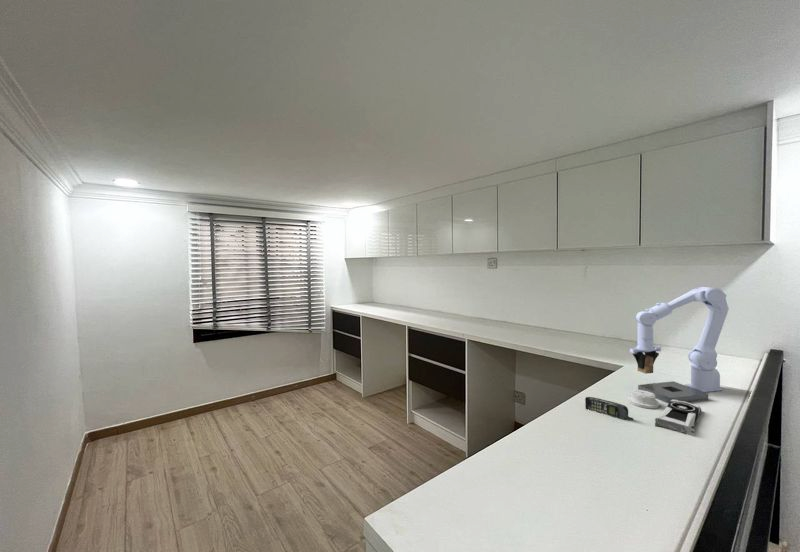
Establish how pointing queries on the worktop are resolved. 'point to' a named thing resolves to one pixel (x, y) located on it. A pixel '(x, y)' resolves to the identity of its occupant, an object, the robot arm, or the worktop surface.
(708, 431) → the worktop surface
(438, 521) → the worktop surface
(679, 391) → the hole plate
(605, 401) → the mobile phone
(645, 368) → the walnut peg
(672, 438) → the worktop surface
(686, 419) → the graphics card
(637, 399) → the mechanical component
